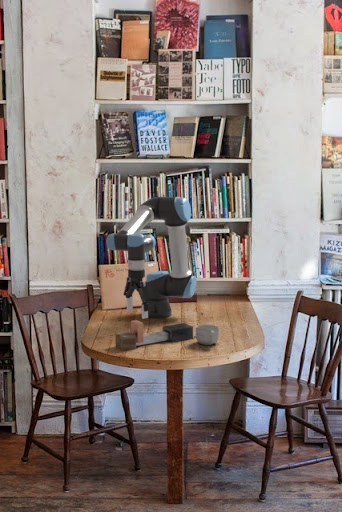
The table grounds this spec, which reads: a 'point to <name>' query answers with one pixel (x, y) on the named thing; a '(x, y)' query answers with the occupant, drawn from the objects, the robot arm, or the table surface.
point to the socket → (125, 340)
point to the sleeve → (179, 331)
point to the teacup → (207, 334)
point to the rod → (147, 338)
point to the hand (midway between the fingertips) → (137, 314)
